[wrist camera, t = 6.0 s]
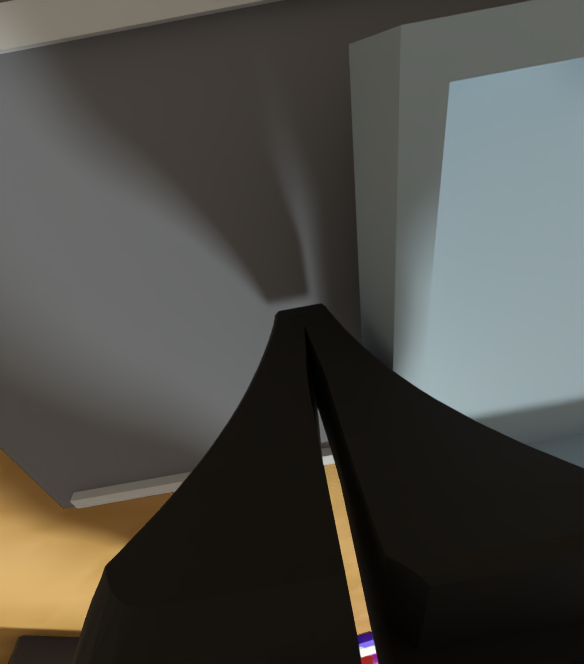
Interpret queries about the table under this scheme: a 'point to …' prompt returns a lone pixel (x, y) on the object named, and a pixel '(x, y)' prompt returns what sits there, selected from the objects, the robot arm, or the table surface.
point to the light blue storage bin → (477, 213)
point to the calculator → (44, 650)
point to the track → (167, 219)
